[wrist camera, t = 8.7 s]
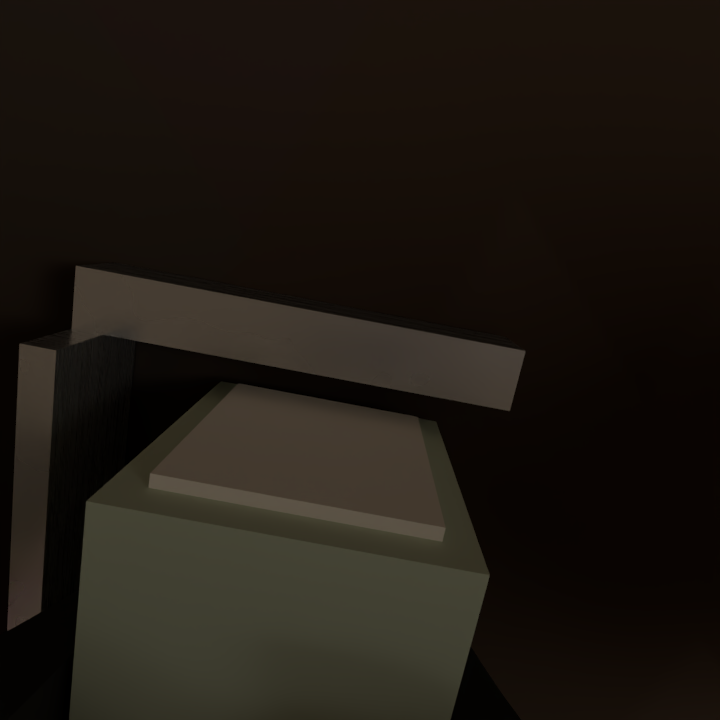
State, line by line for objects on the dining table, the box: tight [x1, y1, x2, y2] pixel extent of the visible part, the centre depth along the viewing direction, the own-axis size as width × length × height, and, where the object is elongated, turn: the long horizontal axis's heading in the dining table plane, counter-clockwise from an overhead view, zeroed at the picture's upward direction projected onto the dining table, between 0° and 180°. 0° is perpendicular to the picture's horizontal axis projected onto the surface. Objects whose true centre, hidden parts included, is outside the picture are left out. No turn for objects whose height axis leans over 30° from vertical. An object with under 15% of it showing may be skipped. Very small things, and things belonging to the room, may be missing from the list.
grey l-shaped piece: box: [7, 263, 525, 631], centre depth 11 cm, size 8×11×3 cm
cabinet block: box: [69, 381, 490, 720], centre depth 10 cm, size 5×8×6 cm, turn 169°
